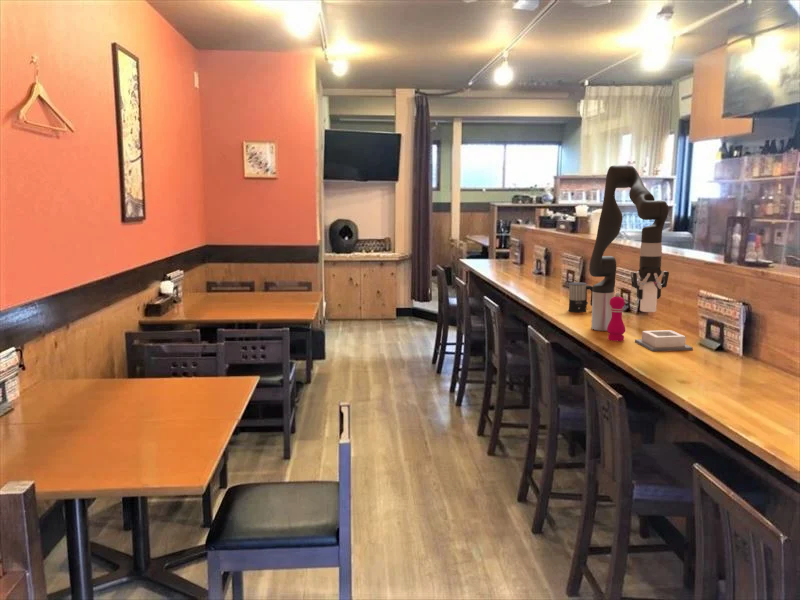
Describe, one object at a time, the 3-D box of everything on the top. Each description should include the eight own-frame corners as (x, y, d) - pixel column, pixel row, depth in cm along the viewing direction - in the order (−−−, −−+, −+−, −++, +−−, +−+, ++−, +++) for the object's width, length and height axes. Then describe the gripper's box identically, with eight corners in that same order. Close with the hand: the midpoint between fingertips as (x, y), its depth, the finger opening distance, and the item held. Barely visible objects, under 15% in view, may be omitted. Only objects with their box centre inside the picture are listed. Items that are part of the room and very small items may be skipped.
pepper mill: (622, 337, 263) (624, 291, 260) (626, 341, 256) (628, 294, 253) (605, 337, 264) (606, 291, 260) (609, 341, 257) (610, 294, 253)
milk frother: (573, 313, 320) (574, 284, 318) (559, 308, 336) (559, 281, 333) (598, 311, 324) (599, 283, 321) (582, 306, 339) (583, 279, 336)
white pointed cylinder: (644, 280, 229) (638, 278, 235) (643, 312, 231) (637, 309, 237) (660, 280, 229) (654, 278, 235) (659, 311, 232) (652, 309, 237)
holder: (634, 341, 255) (635, 330, 254) (672, 340, 256) (673, 328, 255) (652, 351, 239) (653, 338, 239) (692, 349, 240) (693, 337, 239)
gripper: (664, 253, 235) (662, 296, 237) (627, 254, 234) (625, 297, 237) (674, 255, 227) (671, 300, 230) (636, 256, 227) (634, 301, 229)
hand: (648, 298), depth 233 cm, fingers closed on white pointed cylinder, 6 cm apart
